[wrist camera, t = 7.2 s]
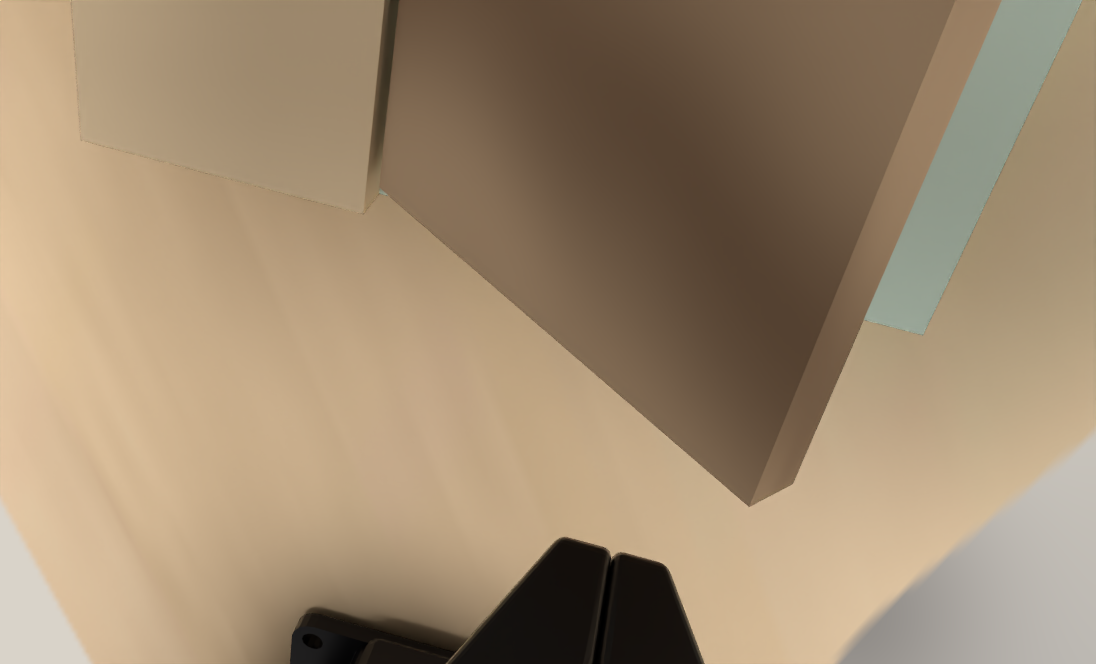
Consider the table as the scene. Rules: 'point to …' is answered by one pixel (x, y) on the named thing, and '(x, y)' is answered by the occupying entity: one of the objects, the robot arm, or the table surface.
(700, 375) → the plank
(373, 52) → the underlay base
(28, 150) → the table surface
